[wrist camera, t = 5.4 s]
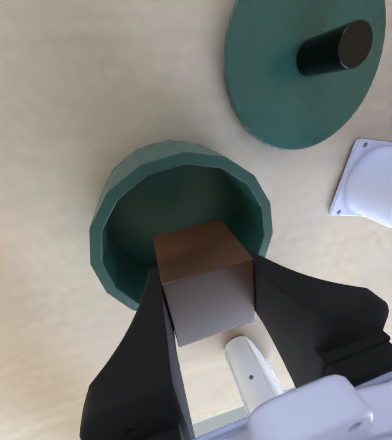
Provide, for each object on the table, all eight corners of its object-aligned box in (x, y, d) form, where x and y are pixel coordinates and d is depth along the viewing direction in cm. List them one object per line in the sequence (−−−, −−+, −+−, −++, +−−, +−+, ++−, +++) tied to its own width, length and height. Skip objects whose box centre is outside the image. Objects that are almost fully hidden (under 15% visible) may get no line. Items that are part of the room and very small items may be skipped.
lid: (385, -76, 16) (486, -149, 11) (362, 126, 22) (421, 130, 18) (203, -42, 14) (238, -112, 10) (234, 166, 20) (264, 181, 16)
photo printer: (217, 346, 30) (265, 476, 20) (244, 329, 30) (308, 450, 20) (246, 377, 36) (297, 494, 25) (270, 362, 35) (331, 473, 25)
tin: (227, 122, 19) (264, 127, 13) (245, 245, 24) (276, 281, 19) (72, 166, 17) (48, 191, 12) (131, 286, 23) (132, 337, 18)
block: (220, 219, 14) (253, 258, 10) (226, 272, 16) (255, 321, 12) (152, 236, 13) (161, 285, 10) (166, 290, 15) (179, 347, 12)
